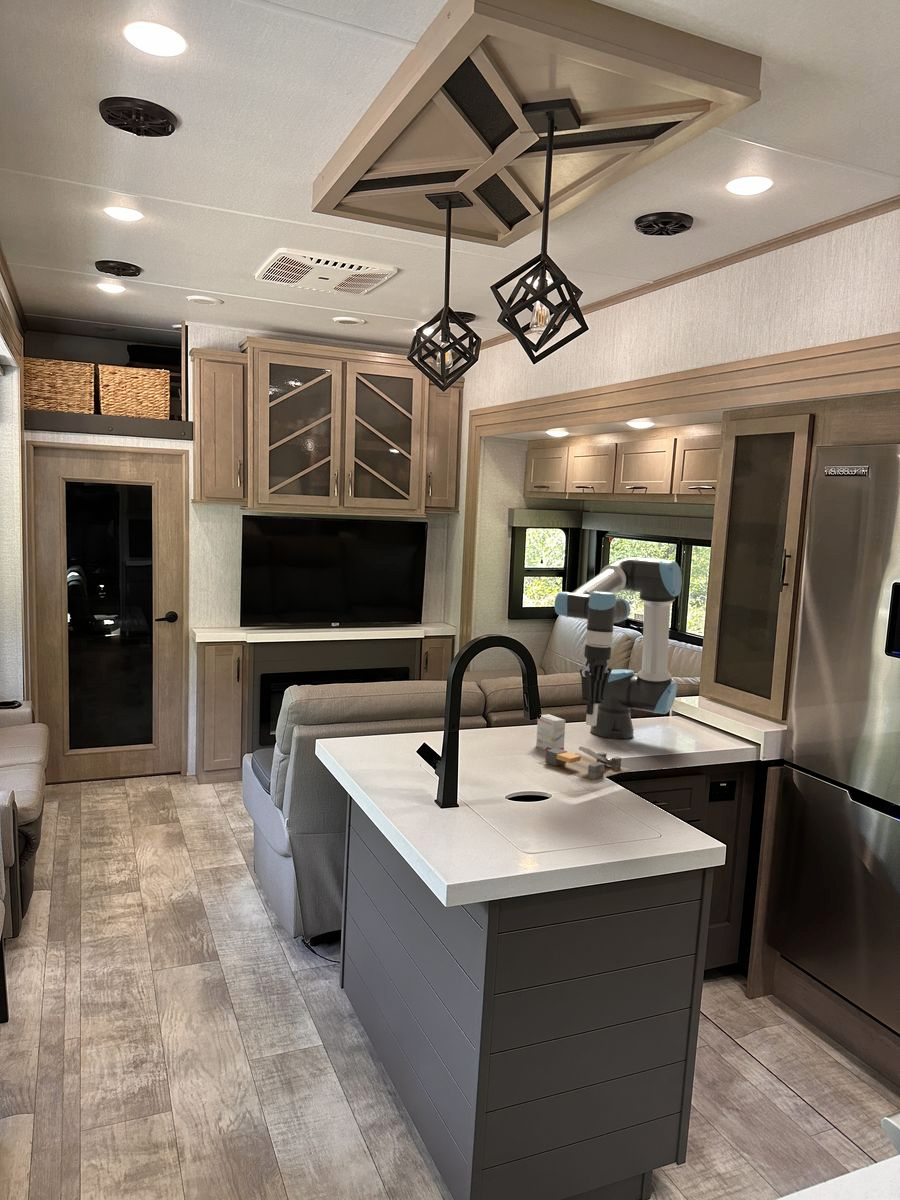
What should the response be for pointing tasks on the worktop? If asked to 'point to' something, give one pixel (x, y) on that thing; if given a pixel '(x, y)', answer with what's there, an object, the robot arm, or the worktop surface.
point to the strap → (596, 756)
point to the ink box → (550, 732)
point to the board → (584, 767)
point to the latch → (560, 757)
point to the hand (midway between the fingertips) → (590, 724)
